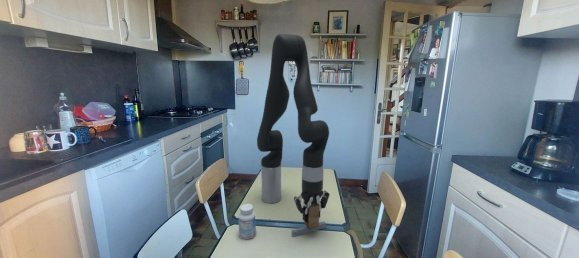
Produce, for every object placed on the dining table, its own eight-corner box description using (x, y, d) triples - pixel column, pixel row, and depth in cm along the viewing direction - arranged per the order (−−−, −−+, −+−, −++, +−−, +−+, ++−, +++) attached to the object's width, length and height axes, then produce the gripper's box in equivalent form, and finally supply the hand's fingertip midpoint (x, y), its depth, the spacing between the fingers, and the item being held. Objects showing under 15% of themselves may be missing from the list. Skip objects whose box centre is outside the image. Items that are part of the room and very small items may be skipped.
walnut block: (304, 223, 92) (304, 201, 90) (313, 221, 93) (314, 199, 91) (309, 229, 88) (309, 206, 86) (318, 227, 89) (319, 204, 88)
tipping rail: (291, 234, 91) (291, 229, 90) (324, 225, 96) (324, 221, 96) (292, 236, 89) (292, 231, 89) (325, 227, 95) (325, 223, 94)
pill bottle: (248, 227, 95) (247, 201, 92) (259, 233, 91) (258, 206, 88) (235, 235, 90) (234, 207, 88) (246, 242, 86) (245, 213, 84)
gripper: (324, 170, 93) (322, 211, 96) (289, 175, 87) (289, 219, 91) (335, 177, 86) (333, 221, 89) (298, 184, 80) (298, 230, 84)
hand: (311, 219), depth 90 cm, fingers closed on walnut block, 4 cm apart
